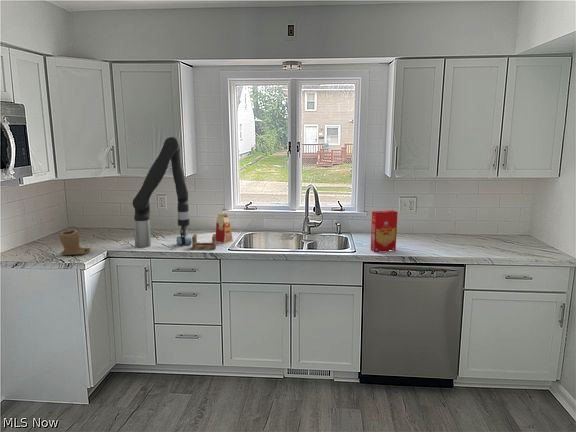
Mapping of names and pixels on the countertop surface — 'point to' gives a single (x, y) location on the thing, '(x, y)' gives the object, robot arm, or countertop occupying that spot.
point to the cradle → (203, 244)
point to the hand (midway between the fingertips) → (184, 243)
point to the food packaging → (383, 230)
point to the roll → (187, 240)
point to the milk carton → (223, 229)
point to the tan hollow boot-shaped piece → (72, 243)
